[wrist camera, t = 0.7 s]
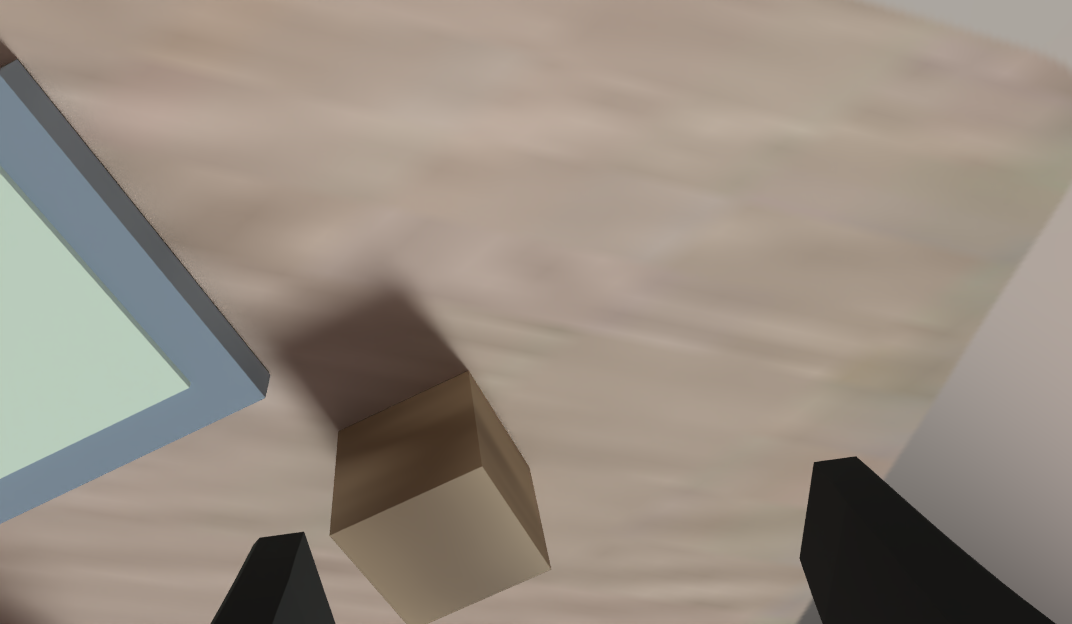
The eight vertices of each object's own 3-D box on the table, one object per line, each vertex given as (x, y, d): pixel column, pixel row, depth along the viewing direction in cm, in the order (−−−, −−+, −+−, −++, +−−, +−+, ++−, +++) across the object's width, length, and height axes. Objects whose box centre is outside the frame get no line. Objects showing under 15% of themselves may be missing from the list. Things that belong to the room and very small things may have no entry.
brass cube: (409, 520, 25) (411, 630, 22) (338, 429, 23) (329, 535, 20) (528, 466, 25) (551, 569, 21) (468, 369, 23) (482, 466, 19)
